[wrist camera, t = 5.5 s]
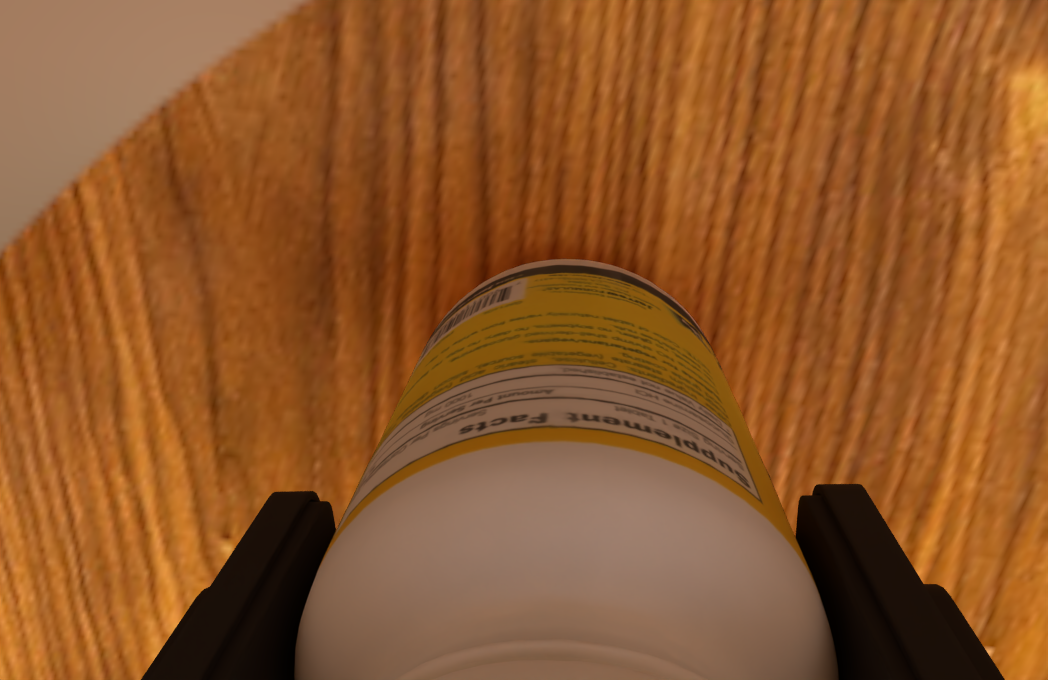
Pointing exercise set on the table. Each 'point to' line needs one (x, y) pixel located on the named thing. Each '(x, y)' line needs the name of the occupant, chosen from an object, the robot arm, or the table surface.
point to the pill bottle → (565, 506)
